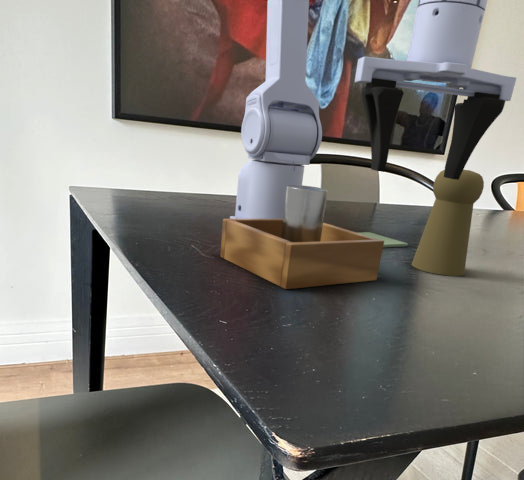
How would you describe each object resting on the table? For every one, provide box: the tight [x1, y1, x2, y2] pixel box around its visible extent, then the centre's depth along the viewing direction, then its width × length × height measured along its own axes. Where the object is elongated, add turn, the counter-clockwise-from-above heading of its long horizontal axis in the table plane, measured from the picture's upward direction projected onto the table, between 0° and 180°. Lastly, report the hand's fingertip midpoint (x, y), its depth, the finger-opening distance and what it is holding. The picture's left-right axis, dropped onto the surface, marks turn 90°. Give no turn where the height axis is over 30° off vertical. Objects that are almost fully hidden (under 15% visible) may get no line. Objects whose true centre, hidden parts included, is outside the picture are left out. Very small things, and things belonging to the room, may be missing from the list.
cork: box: [411, 169, 485, 277], centre depth 56 cm, size 6×6×11 cm
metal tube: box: [281, 184, 329, 243], centre depth 50 cm, size 4×4×8 cm
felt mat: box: [358, 231, 409, 249], centre depth 70 cm, size 8×8×1 cm
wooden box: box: [219, 218, 384, 290], centre depth 50 cm, size 12×12×4 cm
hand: (414, 174), depth 49 cm, fingers open, 7 cm apart
